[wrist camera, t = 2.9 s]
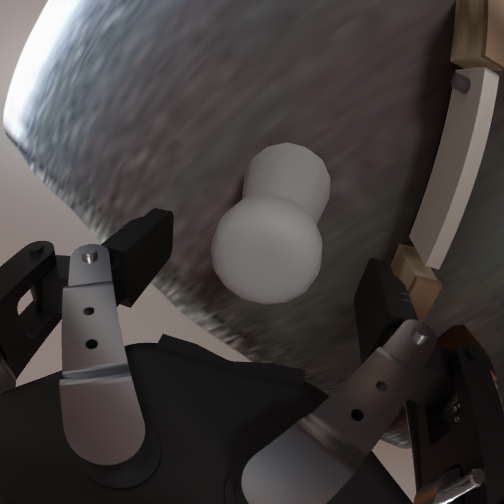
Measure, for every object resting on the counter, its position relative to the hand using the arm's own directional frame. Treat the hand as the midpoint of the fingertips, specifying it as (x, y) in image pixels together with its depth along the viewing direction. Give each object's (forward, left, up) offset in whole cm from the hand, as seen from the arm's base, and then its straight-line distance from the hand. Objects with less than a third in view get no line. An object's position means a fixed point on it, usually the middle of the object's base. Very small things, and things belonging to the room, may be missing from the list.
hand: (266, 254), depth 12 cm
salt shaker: (0, 0, -12) cm, 12 cm away
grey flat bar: (-5, +11, -11) cm, 16 cm away
